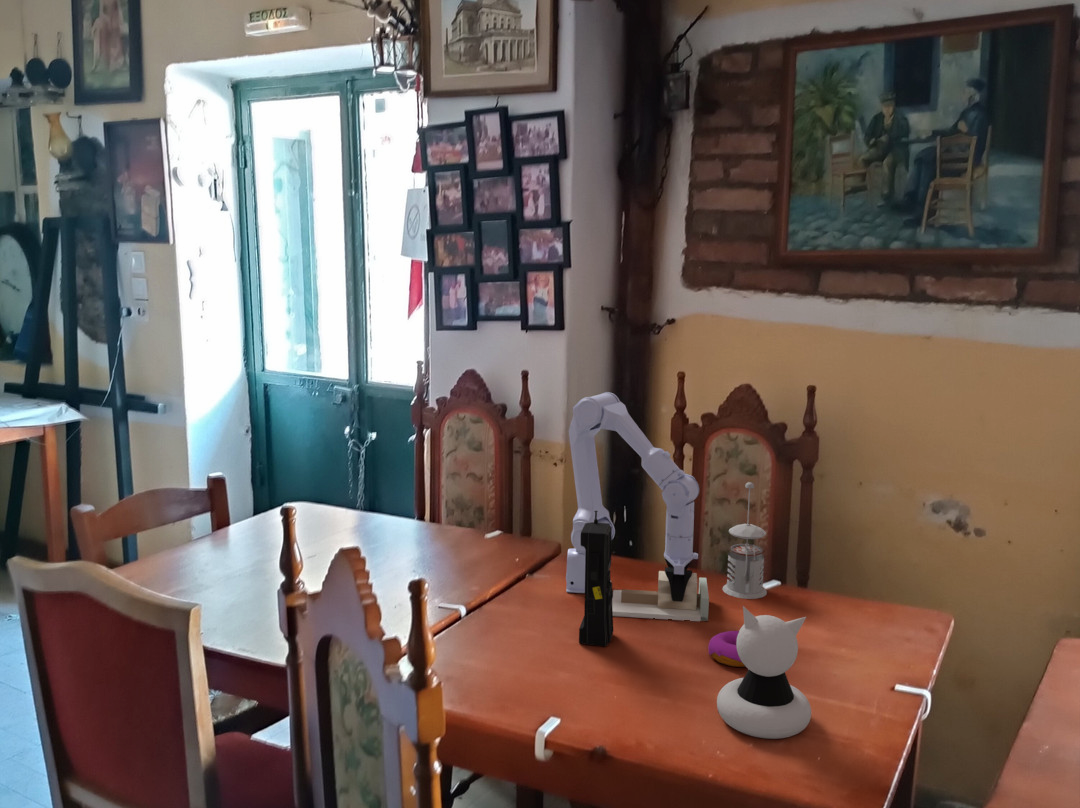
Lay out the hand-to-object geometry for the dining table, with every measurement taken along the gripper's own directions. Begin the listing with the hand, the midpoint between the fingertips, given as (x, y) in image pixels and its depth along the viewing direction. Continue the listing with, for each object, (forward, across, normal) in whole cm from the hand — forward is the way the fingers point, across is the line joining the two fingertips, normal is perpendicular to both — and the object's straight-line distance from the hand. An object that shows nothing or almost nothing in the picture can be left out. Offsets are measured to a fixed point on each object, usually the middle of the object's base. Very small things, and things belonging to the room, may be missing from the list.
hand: (677, 595), depth 188 cm
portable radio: (+3, -18, +16) cm, 24 cm away
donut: (+3, -22, -11) cm, 25 cm away
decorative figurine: (+3, -44, -13) cm, 46 cm away
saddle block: (+2, 0, 0) cm, 2 cm away
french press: (+3, +12, -15) cm, 20 cm away
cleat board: (+3, 0, +4) cm, 5 cm away
